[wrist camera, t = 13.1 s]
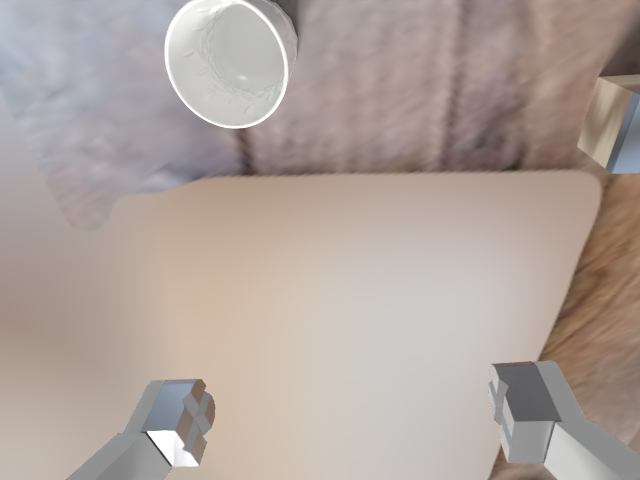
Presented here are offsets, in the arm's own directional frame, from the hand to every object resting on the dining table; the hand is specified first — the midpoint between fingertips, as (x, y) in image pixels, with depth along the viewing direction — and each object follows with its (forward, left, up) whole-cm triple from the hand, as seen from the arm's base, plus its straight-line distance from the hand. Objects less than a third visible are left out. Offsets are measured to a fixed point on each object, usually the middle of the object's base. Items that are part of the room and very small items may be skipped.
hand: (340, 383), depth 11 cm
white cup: (-6, -7, -29) cm, 31 cm away
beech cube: (+5, +23, -23) cm, 33 cm away
